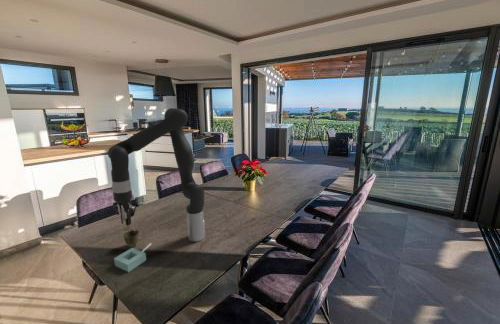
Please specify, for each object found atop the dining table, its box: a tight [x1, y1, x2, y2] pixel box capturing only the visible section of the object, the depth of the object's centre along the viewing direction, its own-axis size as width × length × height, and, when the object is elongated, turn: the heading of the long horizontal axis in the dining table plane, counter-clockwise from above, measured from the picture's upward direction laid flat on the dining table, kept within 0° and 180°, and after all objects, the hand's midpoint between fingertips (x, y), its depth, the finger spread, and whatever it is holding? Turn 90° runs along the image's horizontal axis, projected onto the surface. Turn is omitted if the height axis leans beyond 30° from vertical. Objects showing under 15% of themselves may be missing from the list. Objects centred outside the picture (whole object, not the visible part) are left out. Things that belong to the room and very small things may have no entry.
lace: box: [141, 242, 152, 253], centre depth 127 cm, size 10×1×1 cm, turn 168°
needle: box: [121, 208, 131, 232], centre depth 110 cm, size 3×3×12 cm
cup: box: [122, 229, 139, 248], centre depth 130 cm, size 8×7×8 cm
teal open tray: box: [113, 247, 147, 273], centre depth 116 cm, size 10×10×4 cm
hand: (126, 223), depth 111 cm, fingers closed on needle, 2 cm apart
